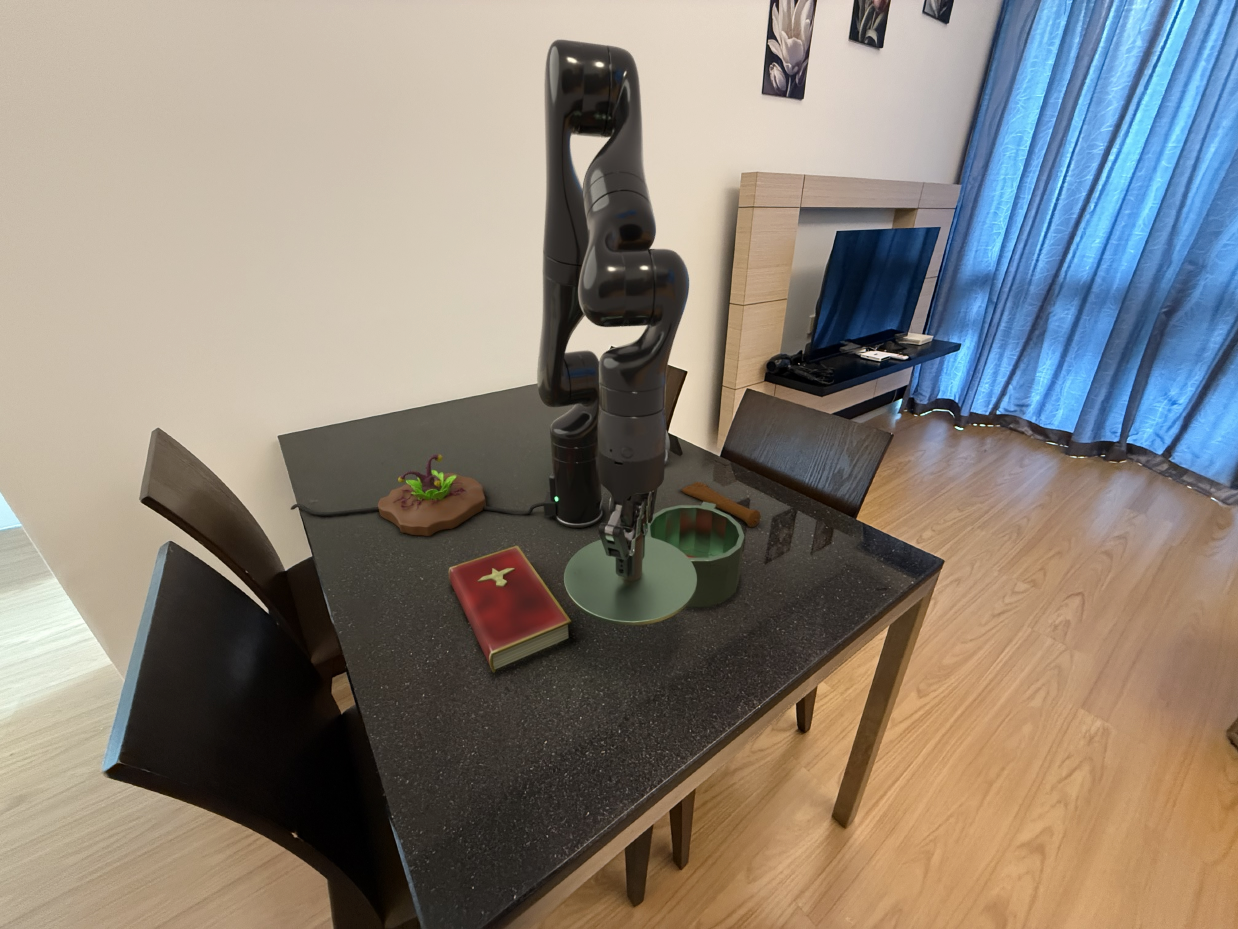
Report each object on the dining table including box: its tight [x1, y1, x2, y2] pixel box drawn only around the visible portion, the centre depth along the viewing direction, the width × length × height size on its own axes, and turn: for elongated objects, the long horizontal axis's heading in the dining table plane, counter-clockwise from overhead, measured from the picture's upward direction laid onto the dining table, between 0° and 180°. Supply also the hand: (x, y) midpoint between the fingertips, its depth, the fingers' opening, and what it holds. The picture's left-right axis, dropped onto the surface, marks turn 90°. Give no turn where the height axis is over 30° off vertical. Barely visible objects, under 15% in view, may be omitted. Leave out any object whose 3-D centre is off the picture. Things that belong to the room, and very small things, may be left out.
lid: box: [563, 528, 697, 627], centre depth 66 cm, size 17×17×7 cm
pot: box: [645, 501, 745, 608], centre depth 87 cm, size 16×21×10 cm
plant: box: [377, 453, 487, 537], centre depth 107 cm, size 20×20×11 cm
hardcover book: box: [448, 545, 572, 673], centre depth 81 cm, size 12×21×4 cm, turn 31°
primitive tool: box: [680, 481, 762, 528], centre depth 108 cm, size 19×6×4 cm, turn 38°
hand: (630, 566), depth 66 cm, fingers closed on lid, 3 cm apart
